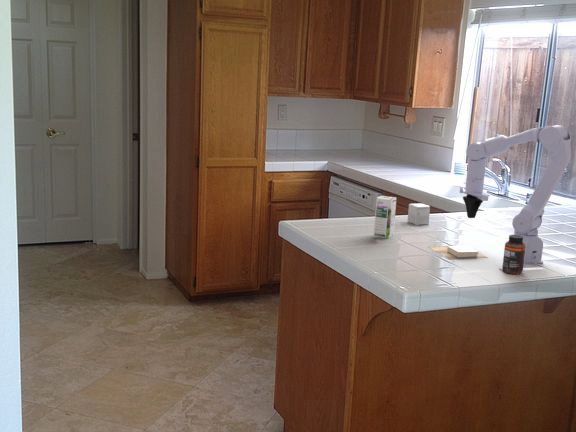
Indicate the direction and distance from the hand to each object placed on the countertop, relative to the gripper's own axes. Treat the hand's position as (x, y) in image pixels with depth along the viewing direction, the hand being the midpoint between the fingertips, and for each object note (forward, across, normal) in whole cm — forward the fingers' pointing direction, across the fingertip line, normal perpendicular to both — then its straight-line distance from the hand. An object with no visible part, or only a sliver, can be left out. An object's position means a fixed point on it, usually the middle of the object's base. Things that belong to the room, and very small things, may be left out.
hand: (471, 217), depth 226 cm
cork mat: (+10, +7, -9) cm, 15 cm away
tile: (+9, +7, -9) cm, 14 cm away
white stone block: (+10, -35, -1) cm, 37 cm away
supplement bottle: (+11, +28, -2) cm, 30 cm away
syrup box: (+10, -16, -24) cm, 31 cm away
